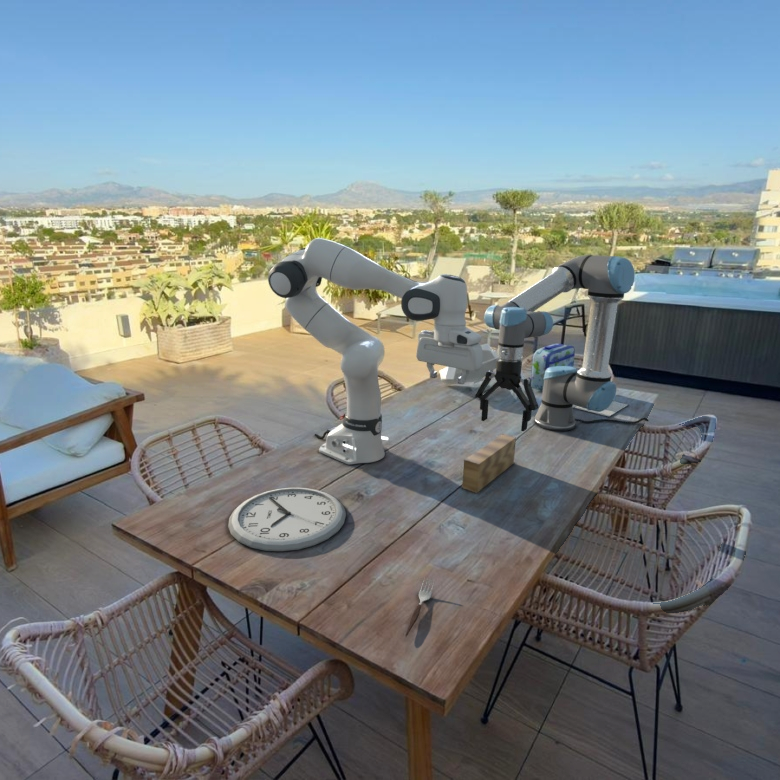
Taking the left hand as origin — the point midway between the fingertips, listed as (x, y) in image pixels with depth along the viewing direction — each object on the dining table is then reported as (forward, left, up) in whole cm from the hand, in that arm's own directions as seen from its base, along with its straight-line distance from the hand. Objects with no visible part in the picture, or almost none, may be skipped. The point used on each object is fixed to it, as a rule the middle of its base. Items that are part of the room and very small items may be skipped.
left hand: (447, 380), depth 152 cm
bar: (+12, +8, -31) cm, 34 cm away
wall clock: (-23, -44, -31) cm, 58 cm away
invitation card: (+30, +97, -31) cm, 106 cm away
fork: (+22, -57, -31) cm, 68 cm away
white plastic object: (-22, +87, -31) cm, 95 cm away
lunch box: (+4, +113, -31) cm, 117 cm away
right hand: (+13, +17, -17) cm, 27 cm away
